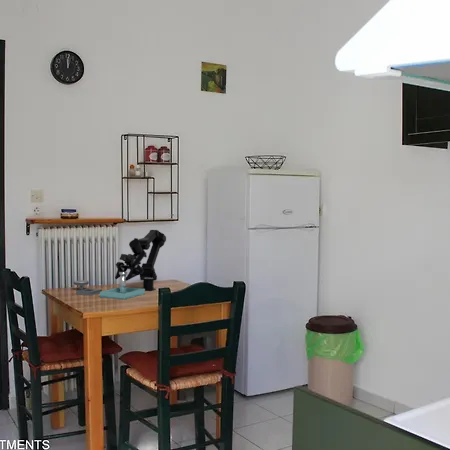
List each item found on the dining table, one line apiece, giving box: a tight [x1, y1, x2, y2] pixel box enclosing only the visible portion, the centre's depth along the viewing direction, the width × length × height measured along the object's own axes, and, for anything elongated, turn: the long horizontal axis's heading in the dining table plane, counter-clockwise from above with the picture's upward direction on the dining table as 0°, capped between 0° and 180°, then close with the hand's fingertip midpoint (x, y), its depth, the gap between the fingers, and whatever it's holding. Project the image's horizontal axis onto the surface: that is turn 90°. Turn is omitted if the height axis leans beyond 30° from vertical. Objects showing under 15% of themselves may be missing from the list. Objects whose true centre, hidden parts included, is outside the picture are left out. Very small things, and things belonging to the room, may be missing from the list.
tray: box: [99, 286, 146, 300], centre depth 315 cm, size 20×16×3 cm
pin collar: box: [75, 288, 103, 296], centre depth 322 cm, size 10×10×2 cm
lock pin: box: [119, 271, 128, 293], centre depth 315 cm, size 4×4×12 cm
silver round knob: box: [73, 279, 90, 290], centre depth 336 cm, size 9×9×5 cm
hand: (120, 279), depth 314 cm, fingers open, 9 cm apart
